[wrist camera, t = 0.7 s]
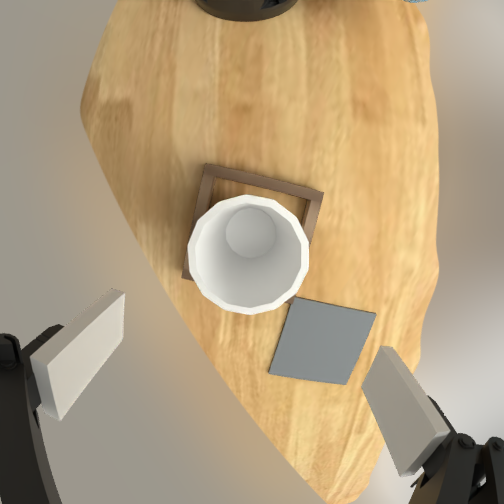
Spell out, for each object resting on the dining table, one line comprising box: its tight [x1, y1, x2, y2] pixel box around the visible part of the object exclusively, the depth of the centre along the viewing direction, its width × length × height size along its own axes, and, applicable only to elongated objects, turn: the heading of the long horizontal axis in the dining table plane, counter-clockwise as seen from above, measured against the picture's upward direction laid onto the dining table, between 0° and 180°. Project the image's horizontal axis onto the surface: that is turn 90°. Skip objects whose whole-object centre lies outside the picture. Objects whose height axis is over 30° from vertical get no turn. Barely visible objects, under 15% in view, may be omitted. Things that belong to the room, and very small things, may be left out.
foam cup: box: [188, 194, 309, 315], centre depth 29 cm, size 10×9×13 cm
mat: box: [269, 297, 376, 385], centre depth 38 cm, size 12×12×1 cm
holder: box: [182, 163, 324, 304], centre depth 34 cm, size 13×13×2 cm
